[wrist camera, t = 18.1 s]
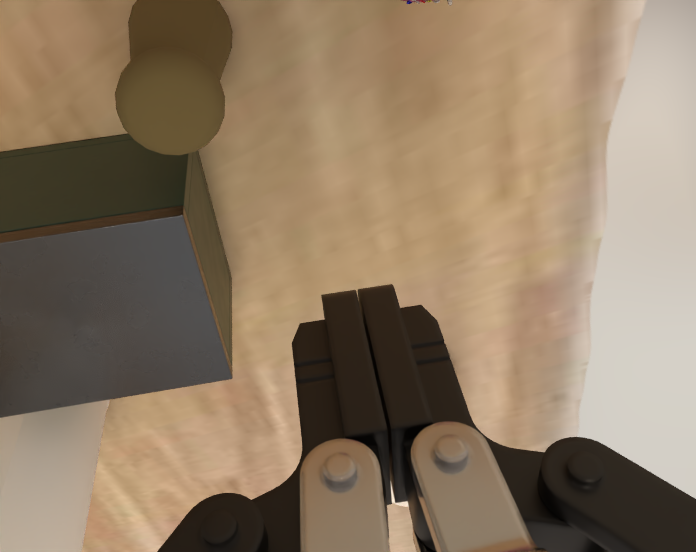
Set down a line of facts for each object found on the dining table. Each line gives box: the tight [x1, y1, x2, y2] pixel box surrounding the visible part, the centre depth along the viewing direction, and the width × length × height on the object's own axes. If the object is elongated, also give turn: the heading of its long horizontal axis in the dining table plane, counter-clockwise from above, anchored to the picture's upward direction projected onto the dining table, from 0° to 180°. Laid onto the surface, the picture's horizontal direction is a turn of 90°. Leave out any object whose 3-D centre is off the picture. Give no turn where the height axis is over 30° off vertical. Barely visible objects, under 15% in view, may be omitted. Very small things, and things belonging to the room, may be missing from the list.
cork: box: [115, 0, 232, 155], centre depth 36 cm, size 6×6×11 cm
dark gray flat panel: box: [0, 205, 232, 418], centre depth 40 cm, size 16×13×1 cm
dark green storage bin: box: [0, 134, 232, 365], centre depth 44 cm, size 15×13×9 cm
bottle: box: [0, 399, 110, 552], centre depth 44 cm, size 8×8×30 cm
